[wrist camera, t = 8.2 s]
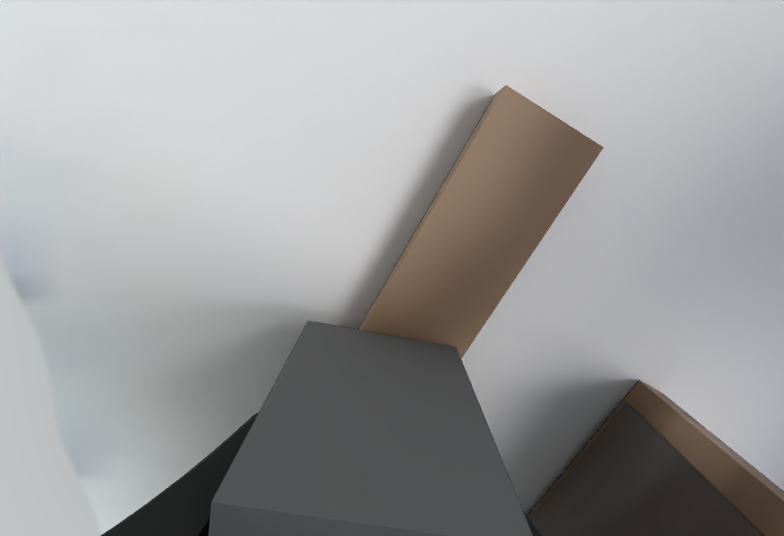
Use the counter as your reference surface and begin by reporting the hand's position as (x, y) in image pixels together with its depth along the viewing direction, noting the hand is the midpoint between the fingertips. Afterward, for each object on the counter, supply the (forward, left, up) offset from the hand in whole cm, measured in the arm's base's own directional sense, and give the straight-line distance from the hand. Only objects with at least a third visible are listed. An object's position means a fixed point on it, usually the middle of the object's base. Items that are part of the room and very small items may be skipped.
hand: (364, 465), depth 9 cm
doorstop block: (0, 0, -2) cm, 2 cm away
